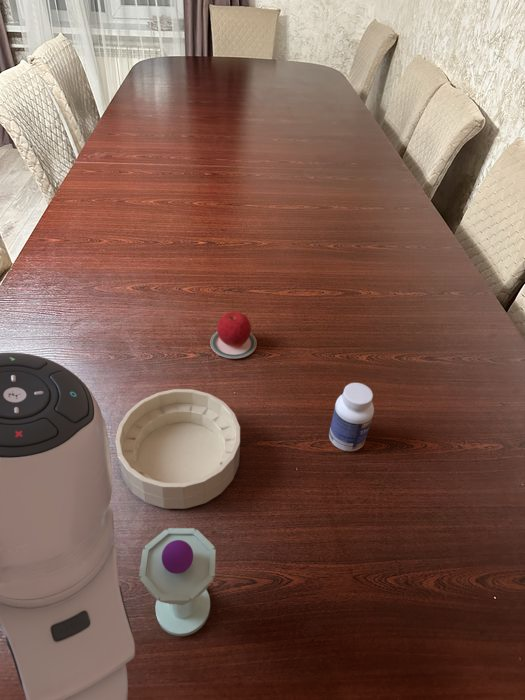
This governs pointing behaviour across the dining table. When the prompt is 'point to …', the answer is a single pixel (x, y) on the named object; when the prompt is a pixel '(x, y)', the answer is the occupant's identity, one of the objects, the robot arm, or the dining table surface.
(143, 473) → the bowl
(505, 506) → the dining table surface
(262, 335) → the dining table surface
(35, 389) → the robot arm
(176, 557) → the ball
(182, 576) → the pedestal stand
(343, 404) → the pill bottle
